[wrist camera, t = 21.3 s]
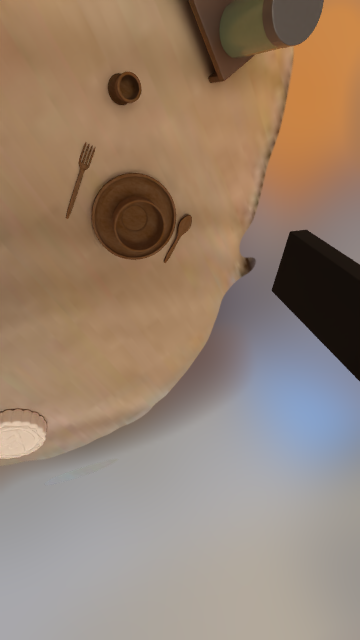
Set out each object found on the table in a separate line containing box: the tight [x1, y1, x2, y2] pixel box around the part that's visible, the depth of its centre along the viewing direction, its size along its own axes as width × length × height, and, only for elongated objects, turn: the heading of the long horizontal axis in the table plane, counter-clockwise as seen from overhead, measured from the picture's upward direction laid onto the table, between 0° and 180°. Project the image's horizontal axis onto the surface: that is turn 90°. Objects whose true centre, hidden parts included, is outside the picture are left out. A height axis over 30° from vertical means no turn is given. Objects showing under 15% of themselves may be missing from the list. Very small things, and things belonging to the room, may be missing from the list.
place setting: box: [66, 72, 192, 263], centre depth 38 cm, size 18×20×6 cm
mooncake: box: [0, 409, 46, 459], centre depth 57 cm, size 12×12×4 cm
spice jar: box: [219, 0, 324, 59], centre depth 27 cm, size 5×5×10 cm
